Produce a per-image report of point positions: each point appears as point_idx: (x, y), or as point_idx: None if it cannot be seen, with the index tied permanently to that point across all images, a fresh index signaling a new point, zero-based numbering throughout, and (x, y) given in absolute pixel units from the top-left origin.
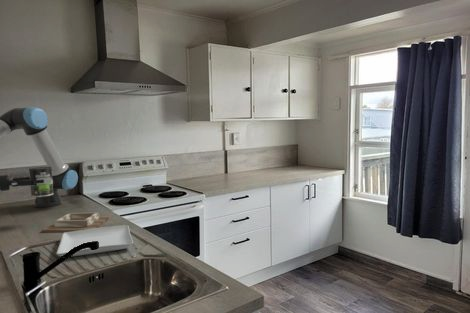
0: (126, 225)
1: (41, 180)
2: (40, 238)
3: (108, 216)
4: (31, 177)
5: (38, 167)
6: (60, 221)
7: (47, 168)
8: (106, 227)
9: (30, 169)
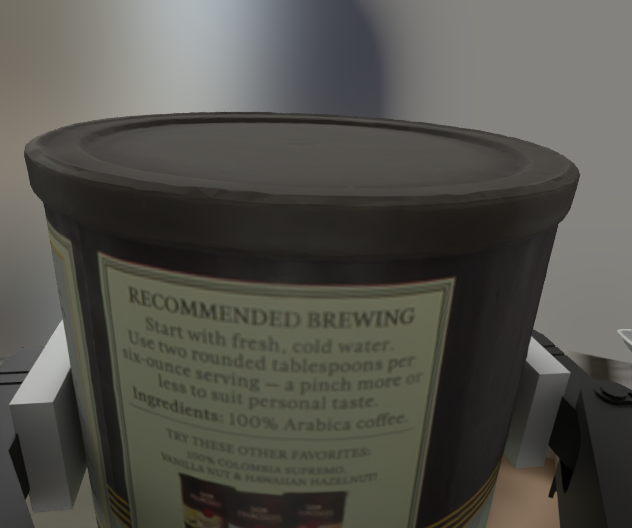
0: (621, 332)
1: (554, 350)
2: None
3: None
4: (486, 426)
5: (76, 140)
6: None
7: (442, 127)
8: None
9: (540, 198)
